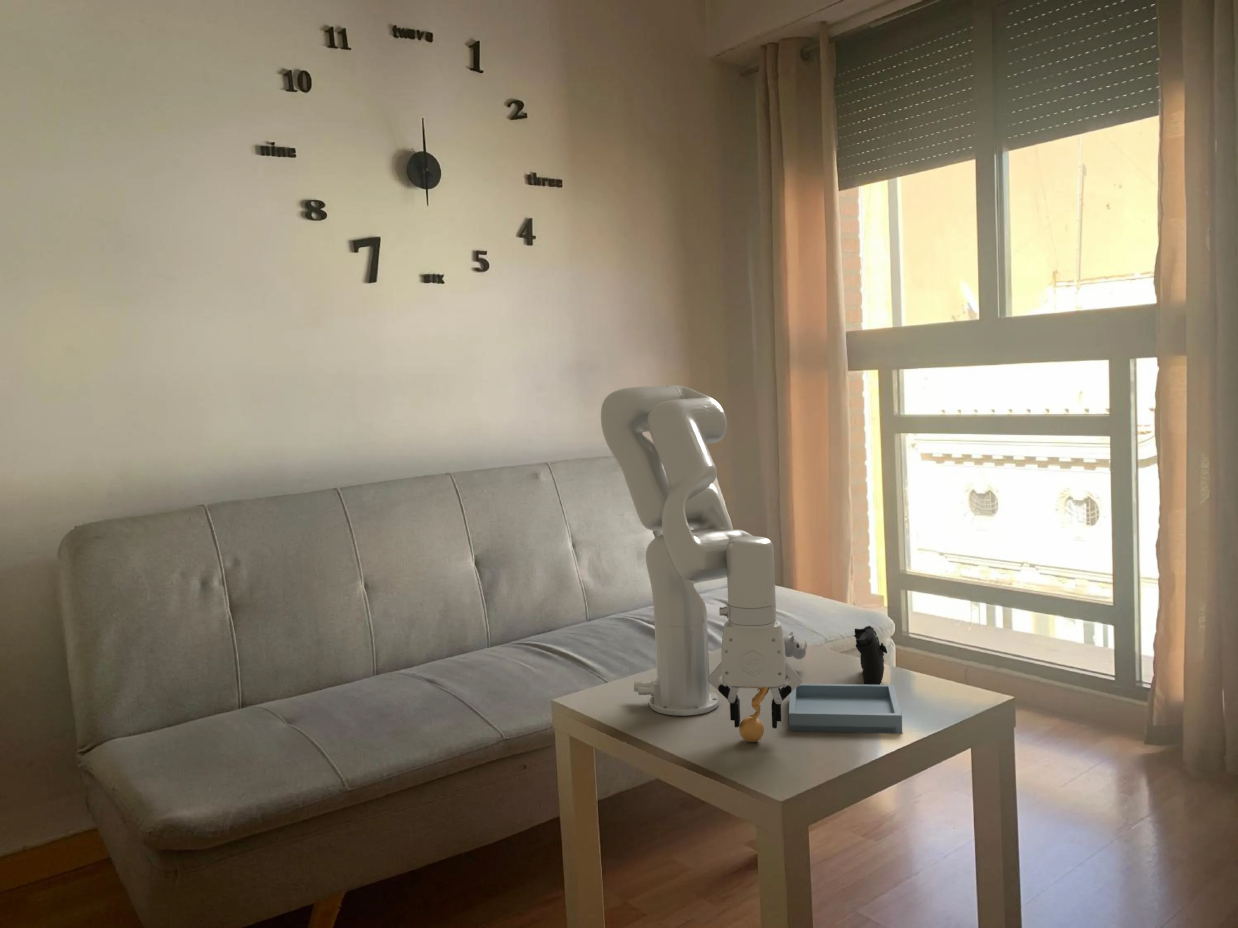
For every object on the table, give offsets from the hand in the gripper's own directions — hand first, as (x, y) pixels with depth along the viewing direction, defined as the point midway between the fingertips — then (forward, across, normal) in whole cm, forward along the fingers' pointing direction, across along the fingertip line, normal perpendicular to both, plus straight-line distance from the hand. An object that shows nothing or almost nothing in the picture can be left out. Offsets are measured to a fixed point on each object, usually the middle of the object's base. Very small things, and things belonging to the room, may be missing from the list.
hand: (756, 723), depth 156 cm
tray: (+3, +14, +13) cm, 19 cm away
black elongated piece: (+3, +20, +33) cm, 39 cm away
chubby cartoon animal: (+3, +2, +39) cm, 39 cm away
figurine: (+3, 0, 0) cm, 3 cm away
